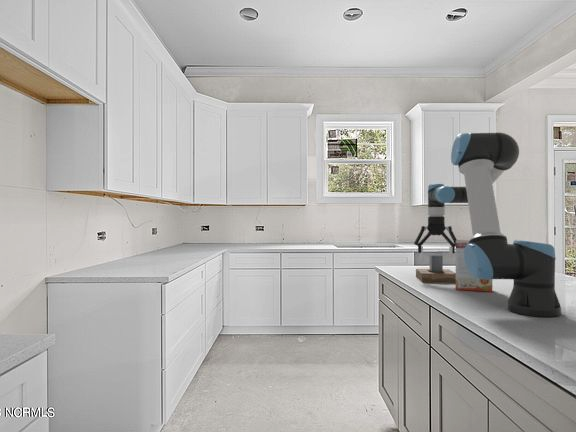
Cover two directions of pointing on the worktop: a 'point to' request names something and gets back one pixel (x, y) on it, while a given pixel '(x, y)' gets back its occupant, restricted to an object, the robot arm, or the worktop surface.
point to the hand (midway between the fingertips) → (436, 260)
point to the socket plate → (436, 276)
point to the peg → (436, 263)
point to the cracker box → (462, 274)
